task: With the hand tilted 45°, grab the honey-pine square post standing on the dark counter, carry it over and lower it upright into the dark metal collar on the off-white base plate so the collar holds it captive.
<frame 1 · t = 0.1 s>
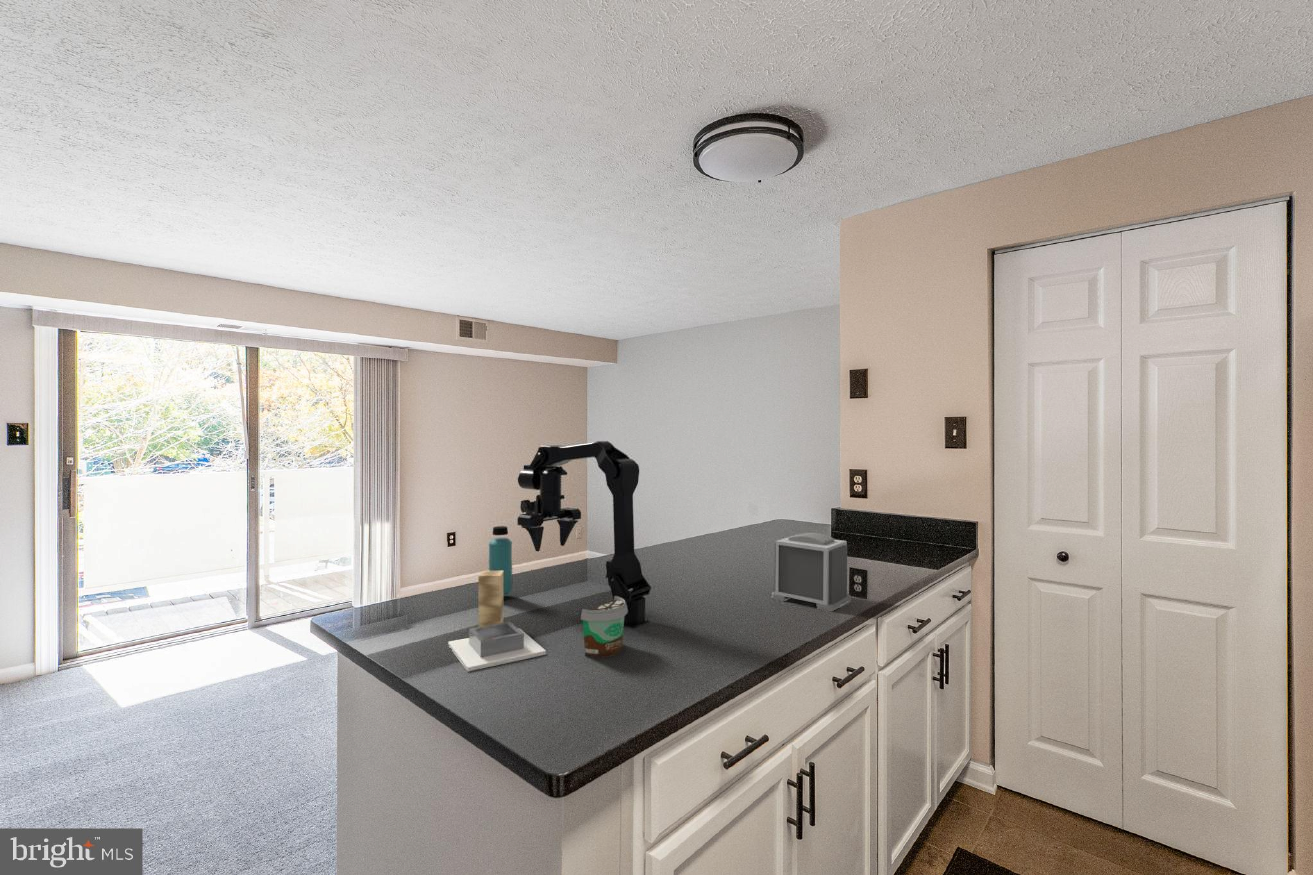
hand: (550, 548, 156), 15 cm above the worktop, tool pointing down, fingers open, 9 cm apart
beverage bottle: (500, 598, 159), on the worktop
food container: (610, 652, 121), on the worktop
base plate: (495, 649, 121), on the worktop
metal collar: (495, 638, 121), on the base plate, point 2 cm above the worktop
pine post: (491, 627, 135), on the worktop
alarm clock: (810, 600, 159), on the worktop
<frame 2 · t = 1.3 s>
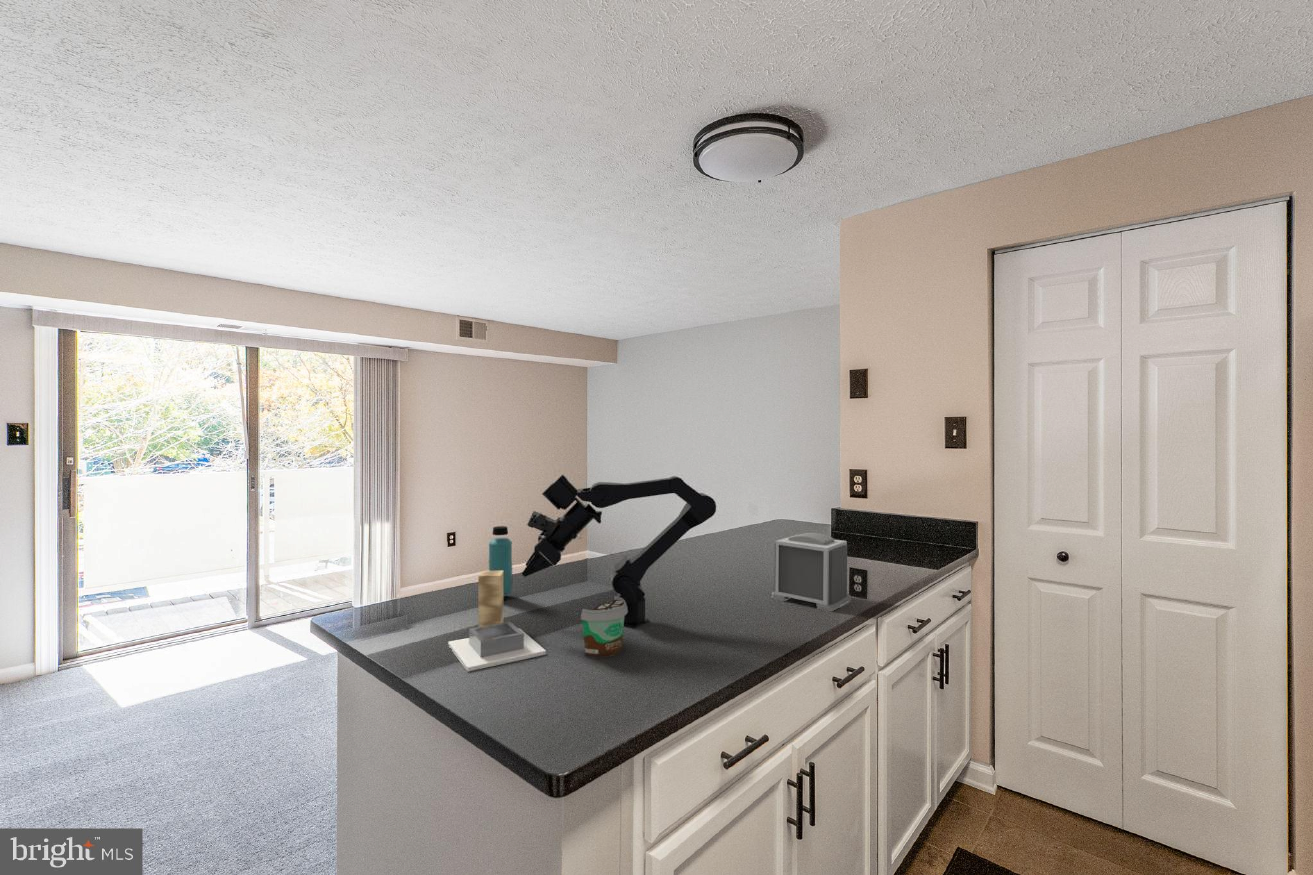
hand: (525, 570, 136), 13 cm above the worktop, tool tilted 45°, fingers open, 9 cm apart
nothing on the worktop moved.
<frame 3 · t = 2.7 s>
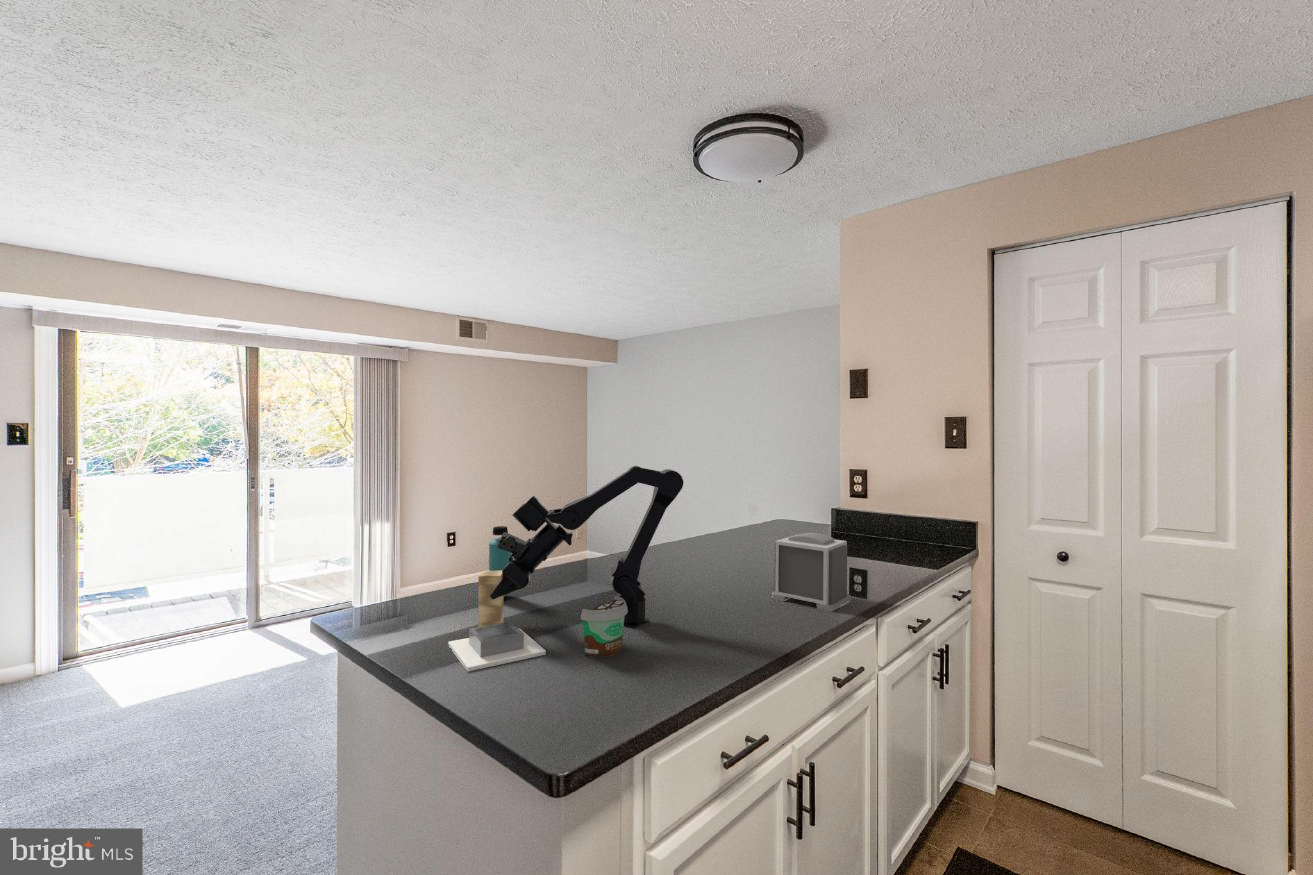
hand: (494, 592, 135), 8 cm above the worktop, tool tilted 45°, fingers open, 9 cm apart
nothing on the worktop moved.
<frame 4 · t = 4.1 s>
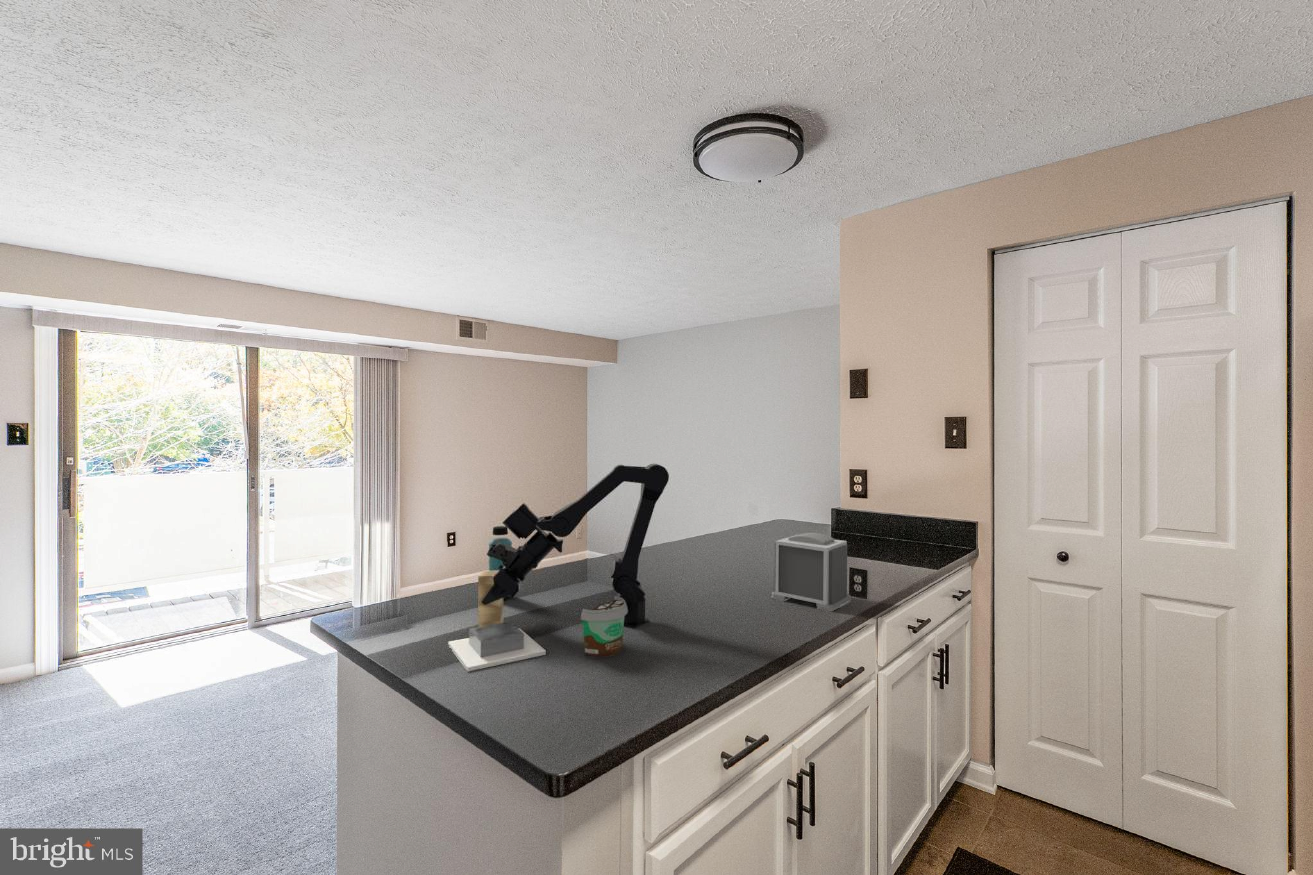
hand: (484, 600, 135), 7 cm above the worktop, tool tilted 45°, fingers closed on pine post, 5 cm apart
pine post: (491, 627, 135), on the worktop, touching gripper
everything else where it was.
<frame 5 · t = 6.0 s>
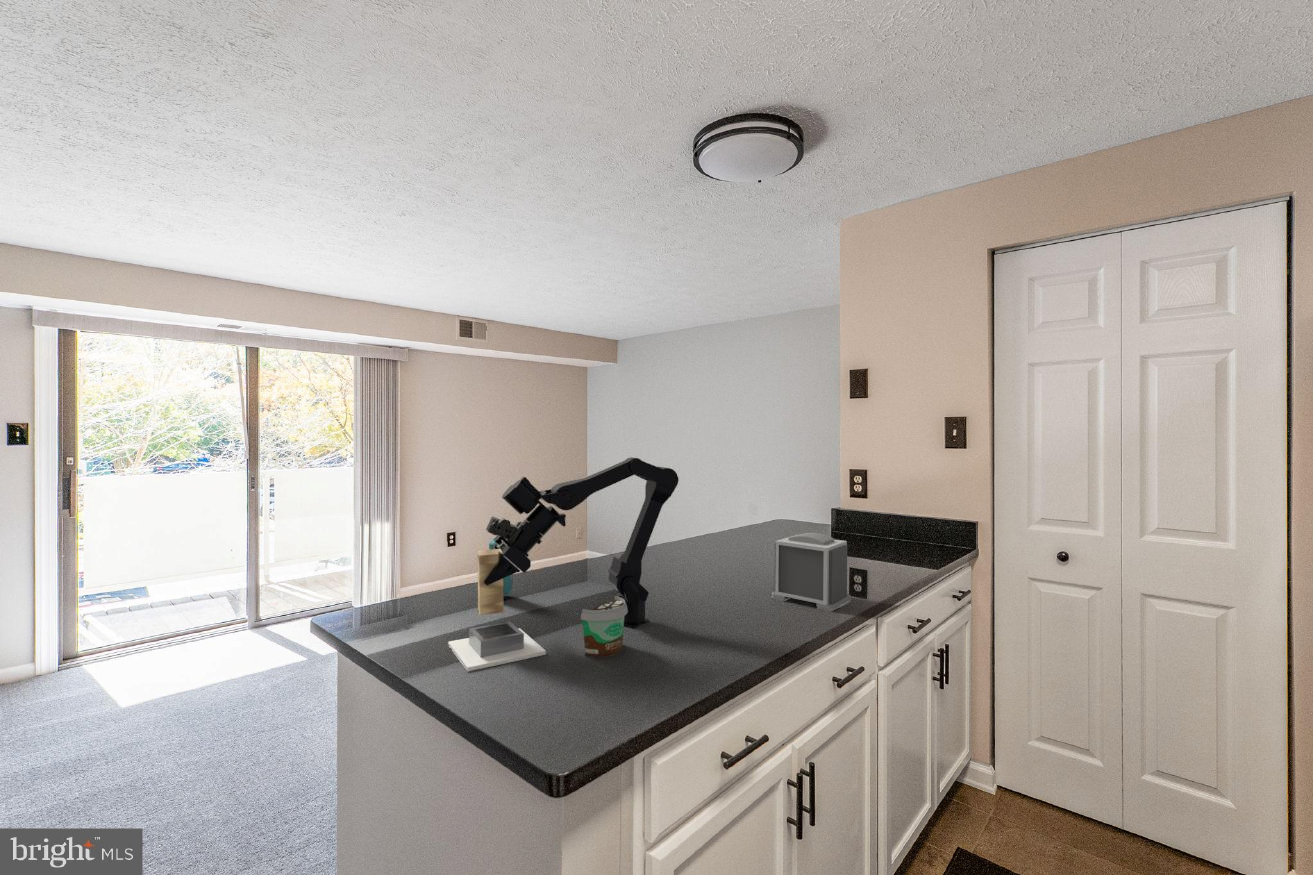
hand: (484, 580, 126), 13 cm above the worktop, tool tilted 45°, fingers closed on pine post, 5 cm apart
pine post: (490, 610, 127), point 7 cm above the worktop, touching gripper
everything else where it was.
when the fingers open (8 cm above the worktop, at t = 8.0 s): pine post stays where it is, resting on base plate.
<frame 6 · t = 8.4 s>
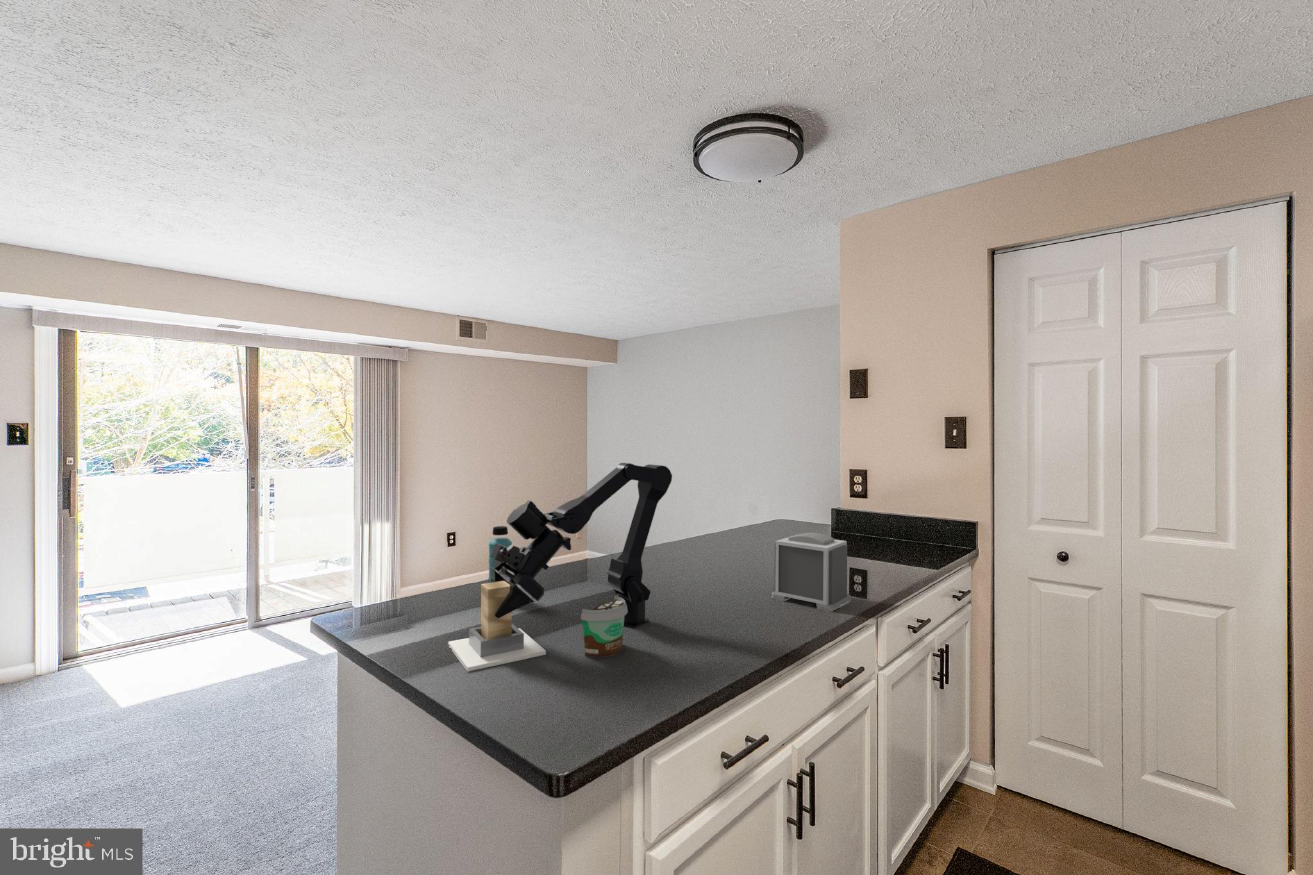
hand: (489, 610, 120), 9 cm above the worktop, tool tilted 45°, fingers open, 9 cm apart
pine post: (496, 645, 121), point 1 cm above the worktop, touching base plate
everything else where it was.
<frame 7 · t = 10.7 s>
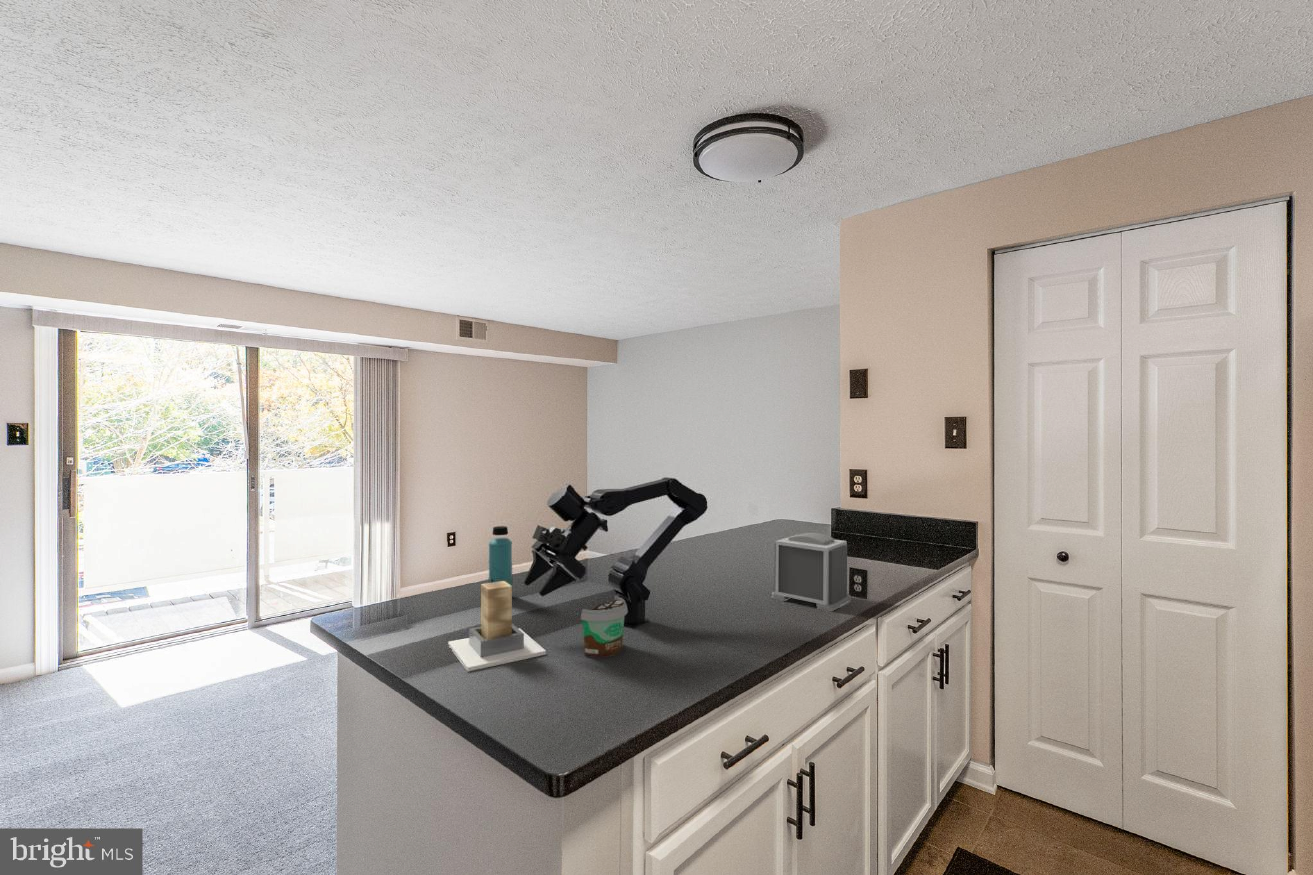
hand: (532, 589, 126), 12 cm above the worktop, tool tilted 45°, fingers open, 9 cm apart
nothing on the worktop moved.
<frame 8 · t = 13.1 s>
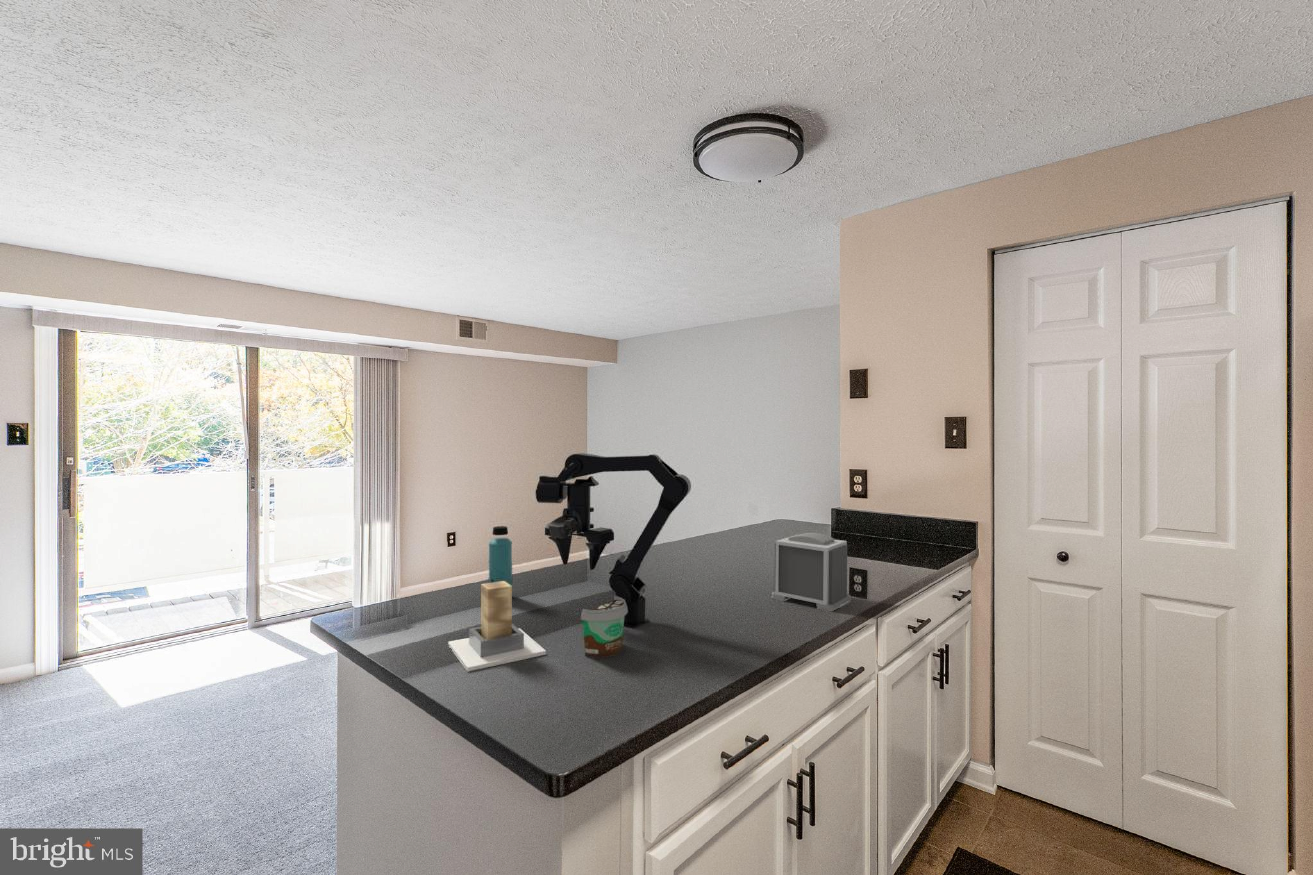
hand: (578, 566, 141), 13 cm above the worktop, tool pointing down, fingers open, 9 cm apart
nothing on the worktop moved.
at the end: pine post 0.1 cm off-centre on the metal collar, point 0.8 cm above the metal collar's base; pine post tilted 0°; the gripper is holding nothing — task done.
